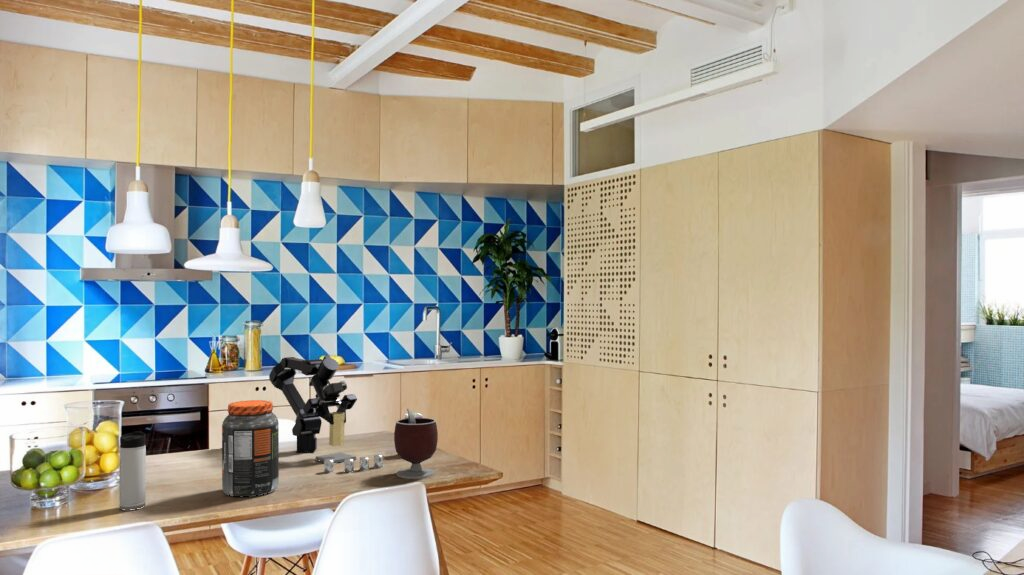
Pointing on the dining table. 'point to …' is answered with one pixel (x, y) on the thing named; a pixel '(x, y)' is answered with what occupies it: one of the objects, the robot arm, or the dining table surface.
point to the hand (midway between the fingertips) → (339, 423)
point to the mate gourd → (415, 444)
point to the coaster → (335, 457)
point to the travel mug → (132, 471)
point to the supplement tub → (250, 449)
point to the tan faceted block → (337, 429)
